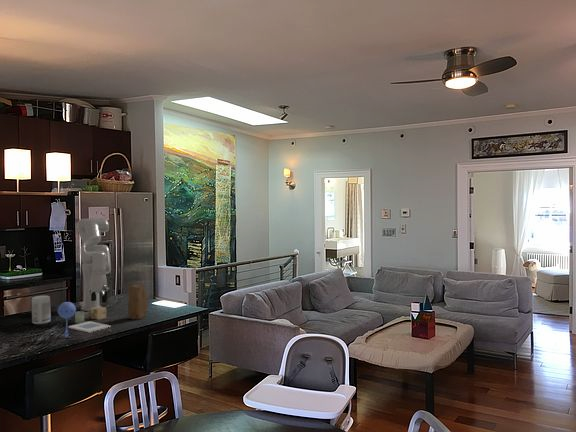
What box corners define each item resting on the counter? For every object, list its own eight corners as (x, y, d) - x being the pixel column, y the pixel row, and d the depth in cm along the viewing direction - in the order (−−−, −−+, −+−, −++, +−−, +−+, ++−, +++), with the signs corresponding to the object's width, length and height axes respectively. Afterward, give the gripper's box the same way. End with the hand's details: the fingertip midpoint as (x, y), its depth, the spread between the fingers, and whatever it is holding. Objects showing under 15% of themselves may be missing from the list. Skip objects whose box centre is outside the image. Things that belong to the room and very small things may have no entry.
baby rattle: (61, 334, 255) (61, 300, 254) (78, 334, 256) (78, 300, 255) (54, 339, 246) (54, 303, 246) (72, 338, 247) (72, 303, 246)
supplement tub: (50, 319, 285) (50, 294, 285) (50, 323, 277) (50, 297, 276) (32, 321, 281) (32, 296, 281) (31, 325, 273) (31, 299, 272)
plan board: (67, 327, 268) (67, 326, 268) (89, 322, 280) (89, 321, 280) (89, 332, 259) (89, 331, 259) (110, 327, 271) (110, 325, 271)
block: (137, 320, 286) (137, 286, 286) (126, 319, 289) (126, 285, 288) (148, 316, 296) (148, 283, 296) (138, 315, 299) (138, 283, 298)
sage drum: (73, 322, 279) (73, 312, 279) (80, 321, 283) (80, 310, 283) (78, 323, 277) (78, 313, 277) (86, 322, 281) (86, 311, 281)
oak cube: (91, 318, 290) (91, 308, 290) (99, 316, 295) (99, 306, 295) (97, 319, 287) (97, 309, 287) (106, 317, 292) (106, 307, 292)
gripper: (84, 272, 291) (84, 301, 291) (103, 274, 282) (103, 303, 283) (94, 271, 298) (95, 299, 298) (113, 273, 289) (114, 301, 289)
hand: (99, 301), depth 290 cm, fingers open, 9 cm apart
